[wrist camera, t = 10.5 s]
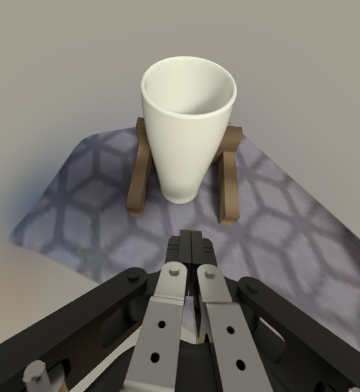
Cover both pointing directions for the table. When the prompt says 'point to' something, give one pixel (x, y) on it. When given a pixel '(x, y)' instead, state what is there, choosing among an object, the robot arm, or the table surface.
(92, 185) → the table surface
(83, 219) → the table surface
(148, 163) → the walnut dock
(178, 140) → the white cup
